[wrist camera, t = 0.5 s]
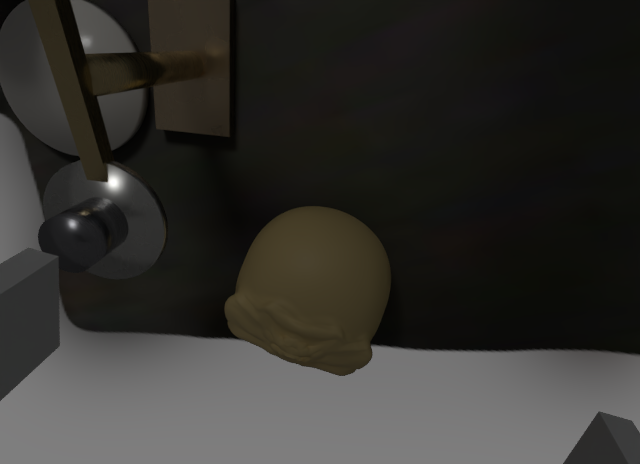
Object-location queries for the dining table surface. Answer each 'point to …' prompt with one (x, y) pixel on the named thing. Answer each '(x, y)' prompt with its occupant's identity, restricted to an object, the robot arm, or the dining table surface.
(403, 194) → the dining table surface
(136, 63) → the balance
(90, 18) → the dish
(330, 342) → the olive brown dome
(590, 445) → the robot arm
